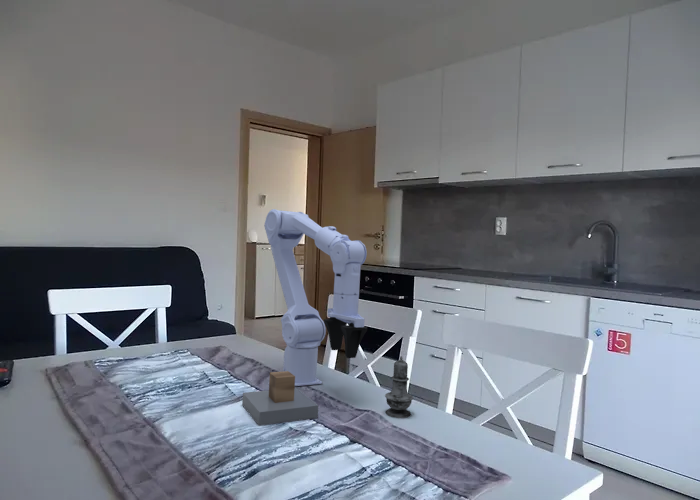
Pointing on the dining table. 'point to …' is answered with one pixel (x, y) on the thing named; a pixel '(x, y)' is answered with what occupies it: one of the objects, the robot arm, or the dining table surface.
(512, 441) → the dining table surface
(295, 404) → the slate coaster
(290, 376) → the walnut block
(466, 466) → the dining table surface
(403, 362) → the salt shaker
